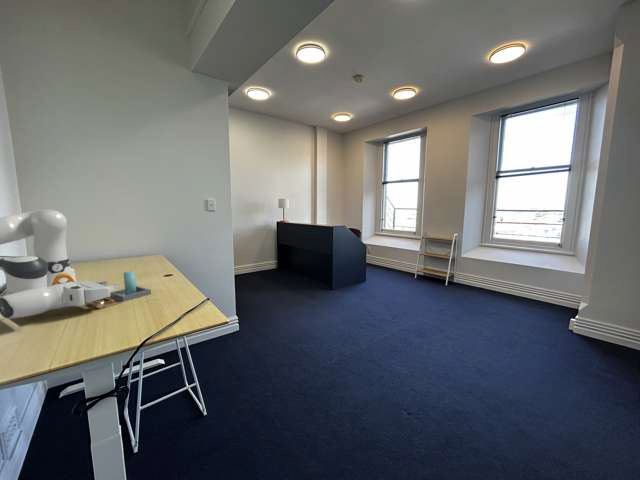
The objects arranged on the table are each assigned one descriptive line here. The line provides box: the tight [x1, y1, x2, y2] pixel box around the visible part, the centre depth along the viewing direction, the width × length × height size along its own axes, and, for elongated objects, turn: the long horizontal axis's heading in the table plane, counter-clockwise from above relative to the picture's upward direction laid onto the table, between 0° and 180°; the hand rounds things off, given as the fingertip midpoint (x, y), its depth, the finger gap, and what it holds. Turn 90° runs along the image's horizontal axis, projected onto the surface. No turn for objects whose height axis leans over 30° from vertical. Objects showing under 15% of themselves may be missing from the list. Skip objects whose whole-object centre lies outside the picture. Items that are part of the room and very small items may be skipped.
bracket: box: [52, 273, 75, 285], centre depth 109 cm, size 11×7×12 cm
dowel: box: [123, 270, 137, 296], centre depth 114 cm, size 4×4×11 cm
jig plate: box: [82, 297, 122, 311], centre depth 105 cm, size 14×9×2 cm, turn 62°
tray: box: [109, 285, 152, 303], centre depth 115 cm, size 11×11×3 cm
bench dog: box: [94, 301, 106, 311], centre depth 100 cm, size 3×3×2 cm
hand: (112, 284), depth 108 cm, fingers open, 8 cm apart
